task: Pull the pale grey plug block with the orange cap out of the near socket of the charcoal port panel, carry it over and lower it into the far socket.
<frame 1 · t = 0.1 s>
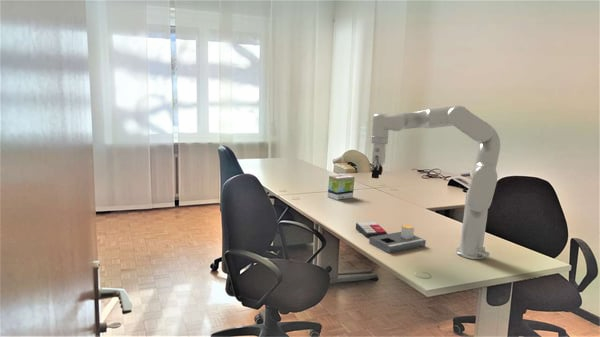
hand: (376, 176, 200), 31 cm above the table, tool pointing down, fingers open, 9 cm apart
tea box: (340, 197, 285), on the table
plug: (406, 243, 200), resting on port panel
port panel: (396, 245, 197), on the table
calculator: (370, 234, 214), on the table
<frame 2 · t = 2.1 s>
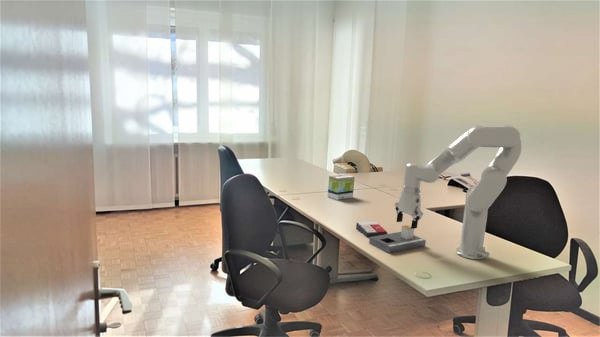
hand: (406, 224, 199), 9 cm above the table, tool pointing down, fingers open, 9 cm apart
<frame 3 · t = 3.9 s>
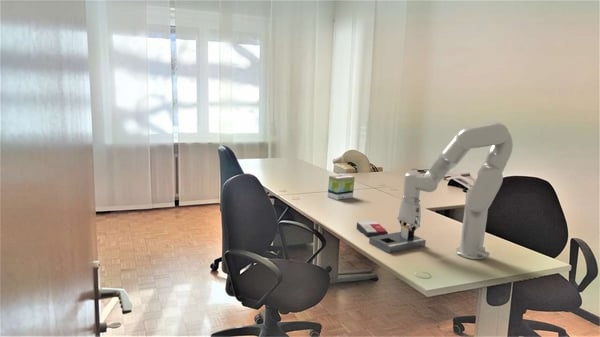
hand: (407, 236, 200), 4 cm above the table, tool pointing down, fingers closed on plug, 4 cm apart
plug: (406, 243, 200), point 1 cm above the table, touching gripper
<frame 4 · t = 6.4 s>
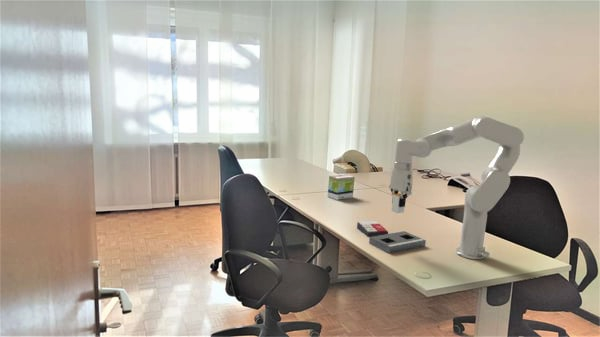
hand: (398, 204, 194), 20 cm above the table, tool pointing down, fingers closed on plug, 4 cm apart
plug: (397, 211, 194), point 17 cm above the table, touching gripper
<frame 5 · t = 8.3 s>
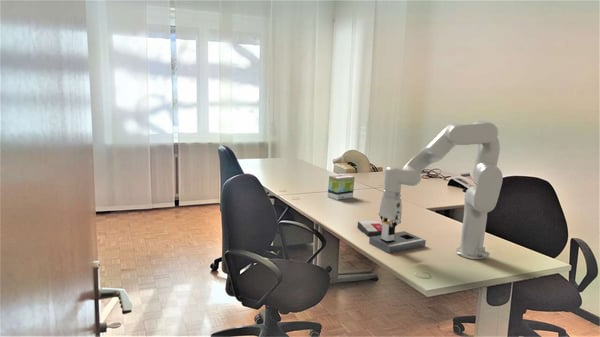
hand: (388, 232, 193), 7 cm above the table, tool pointing down, fingers closed on plug, 4 cm apart
plug: (387, 239, 194), point 4 cm above the table, touching gripper
when the fingers open (5 cm above the table, at t = 9.5 s): plug drops 1 cm, resting on port panel.
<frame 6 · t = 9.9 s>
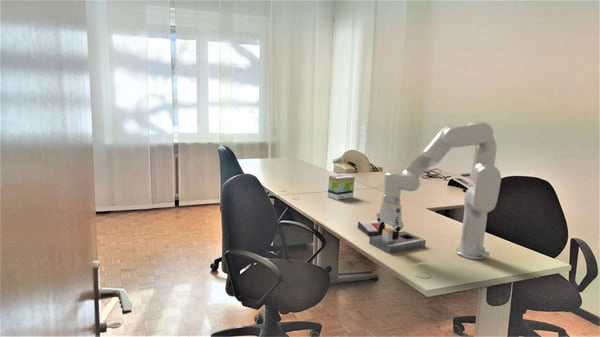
hand: (388, 236, 193), 6 cm above the table, tool pointing down, fingers open, 8 cm apart
plug: (387, 246, 194), resting on port panel
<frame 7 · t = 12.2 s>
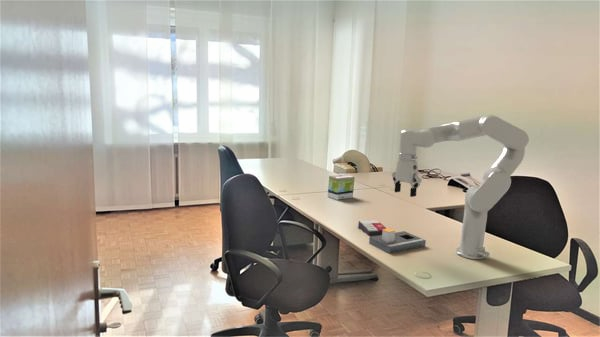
hand: (405, 194, 194), 25 cm above the table, tool pointing down, fingers open, 9 cm apart
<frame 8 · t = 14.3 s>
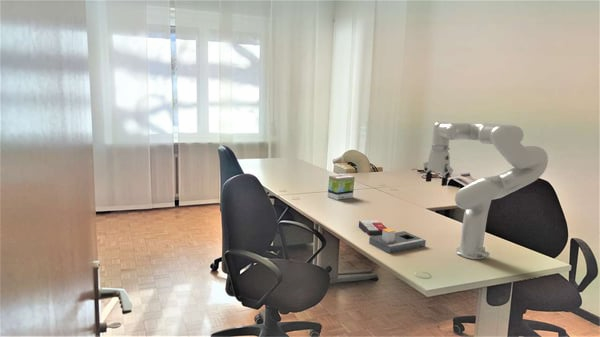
hand: (436, 183, 203), 28 cm above the table, tool pointing down, fingers open, 9 cm apart
at the end: plug 0.1 cm from the target spot on the port panel, point 0.5 cm above the port panel's base; plug tilted 0°; the gripper is holding nothing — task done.
